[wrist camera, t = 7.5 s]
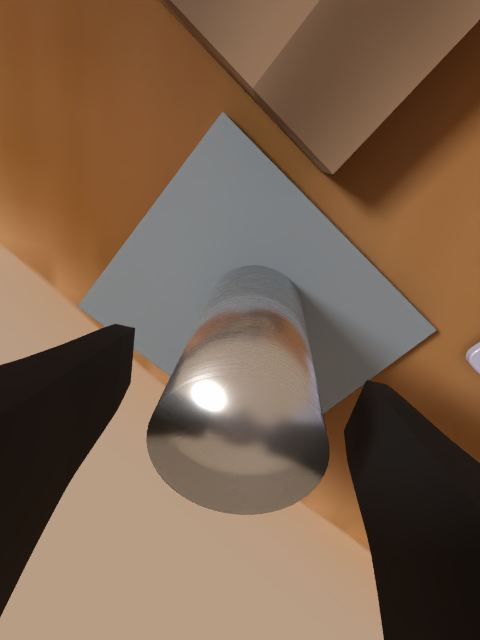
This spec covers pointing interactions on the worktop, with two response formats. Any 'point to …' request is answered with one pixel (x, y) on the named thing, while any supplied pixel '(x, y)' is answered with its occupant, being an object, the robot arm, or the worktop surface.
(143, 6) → the worktop surface
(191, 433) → the plug
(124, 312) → the mat
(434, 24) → the bore block
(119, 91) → the worktop surface
